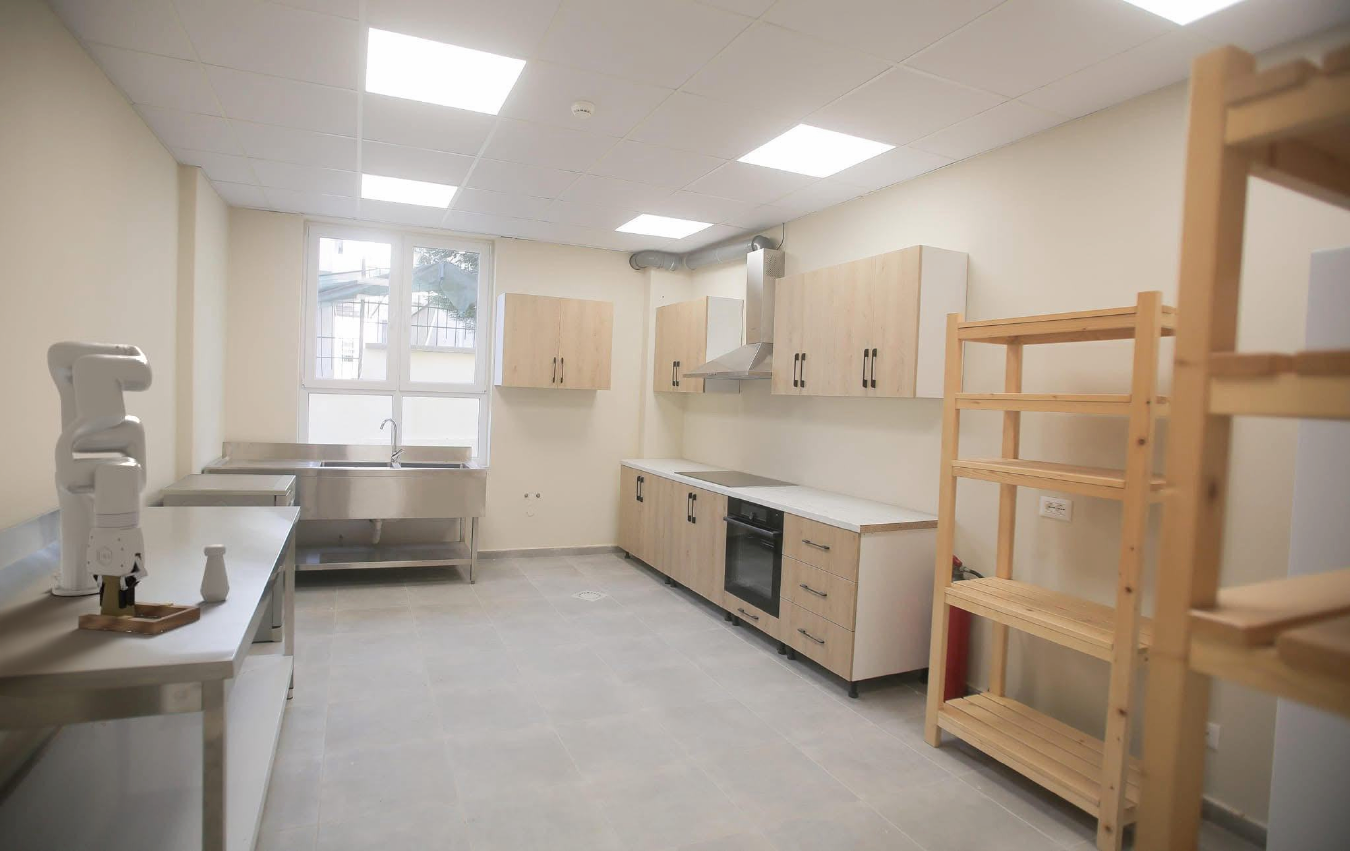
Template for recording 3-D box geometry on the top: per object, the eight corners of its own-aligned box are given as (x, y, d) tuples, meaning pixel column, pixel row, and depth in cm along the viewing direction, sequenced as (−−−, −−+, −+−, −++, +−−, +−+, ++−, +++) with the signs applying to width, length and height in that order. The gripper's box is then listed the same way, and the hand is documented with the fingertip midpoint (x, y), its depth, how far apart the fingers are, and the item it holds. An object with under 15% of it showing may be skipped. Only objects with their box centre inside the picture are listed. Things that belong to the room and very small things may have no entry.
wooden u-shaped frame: (78, 627, 146) (78, 614, 146) (128, 612, 157) (128, 599, 157) (154, 634, 143) (154, 620, 143) (200, 618, 154) (200, 605, 154)
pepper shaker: (112, 613, 154) (112, 563, 153) (141, 613, 154) (141, 563, 154) (91, 622, 148) (91, 570, 147) (122, 622, 148) (122, 570, 148)
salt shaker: (214, 604, 164) (214, 548, 163) (193, 602, 165) (193, 546, 165) (235, 597, 170) (235, 543, 169) (214, 595, 171) (214, 541, 170)
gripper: (66, 520, 148) (66, 607, 149) (134, 526, 145) (134, 614, 146) (101, 514, 155) (101, 597, 156) (167, 519, 152) (166, 604, 153)
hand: (117, 604), depth 151 cm, fingers closed on pepper shaker, 3 cm apart
